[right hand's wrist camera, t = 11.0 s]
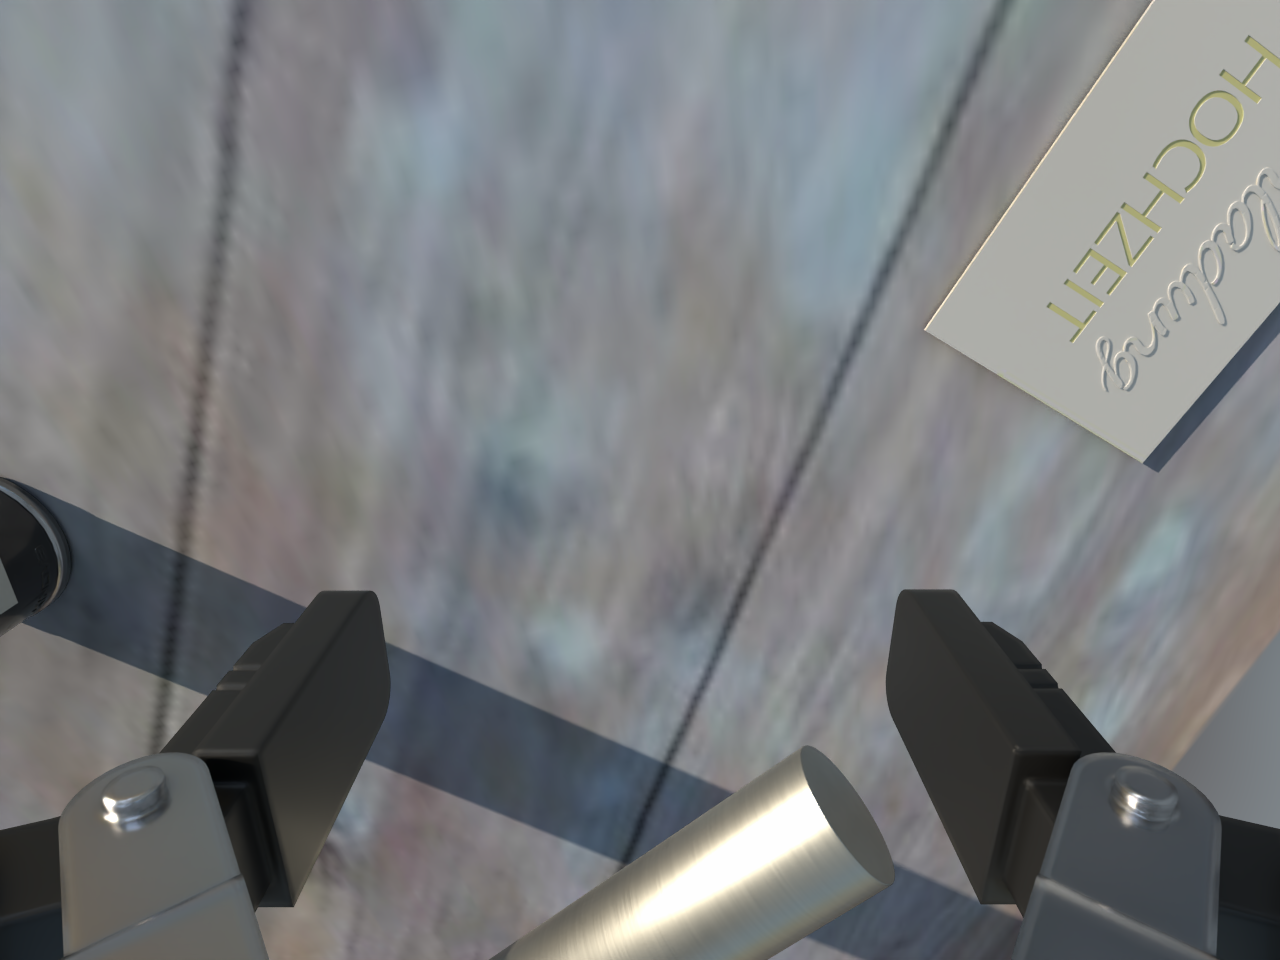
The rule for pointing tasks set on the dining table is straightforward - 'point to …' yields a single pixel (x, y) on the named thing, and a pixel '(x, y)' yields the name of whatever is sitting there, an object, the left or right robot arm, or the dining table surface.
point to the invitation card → (1140, 230)
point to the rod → (732, 877)
